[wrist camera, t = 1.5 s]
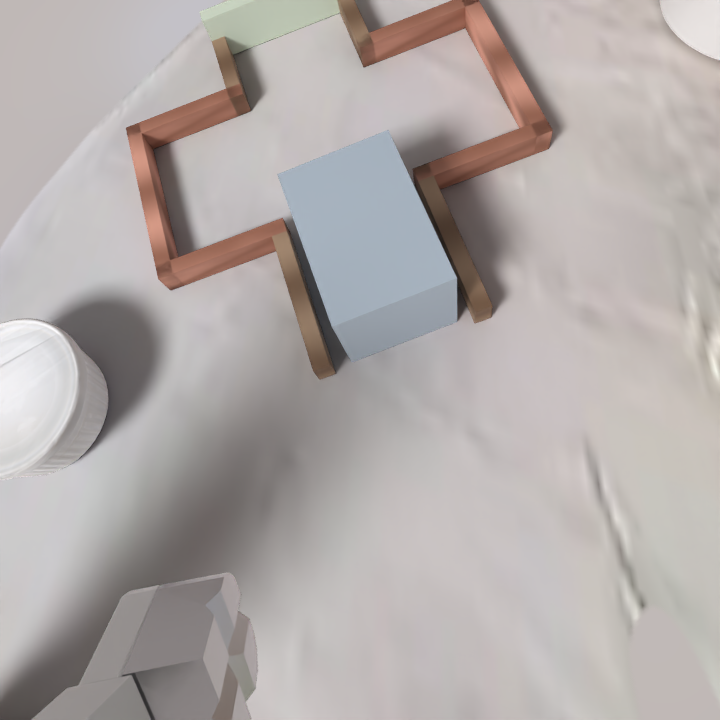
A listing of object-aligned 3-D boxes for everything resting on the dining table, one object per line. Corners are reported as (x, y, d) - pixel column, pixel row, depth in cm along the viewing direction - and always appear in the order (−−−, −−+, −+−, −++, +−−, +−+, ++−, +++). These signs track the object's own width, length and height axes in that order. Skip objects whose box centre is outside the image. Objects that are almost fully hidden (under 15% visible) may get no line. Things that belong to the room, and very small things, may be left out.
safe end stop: (352, 7, 52) (344, -35, 48) (220, 59, 52) (202, 21, 48) (348, -1, 52) (340, -45, 48) (217, 50, 53) (199, 11, 49)
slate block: (457, 322, 41) (456, 278, 34) (352, 363, 41) (331, 326, 34) (398, 191, 45) (388, 130, 38) (303, 229, 45) (277, 174, 39)
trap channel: (617, 271, 40) (625, 258, 38) (200, 422, 41) (187, 416, 39) (449, -31, 51) (448, -53, 49) (127, 96, 53) (115, 79, 51)
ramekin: (47, 321, 46) (-2, 293, 41) (151, 380, 43) (111, 357, 38) (-40, 443, 44) (-103, 429, 39) (64, 515, 41) (9, 510, 36)
